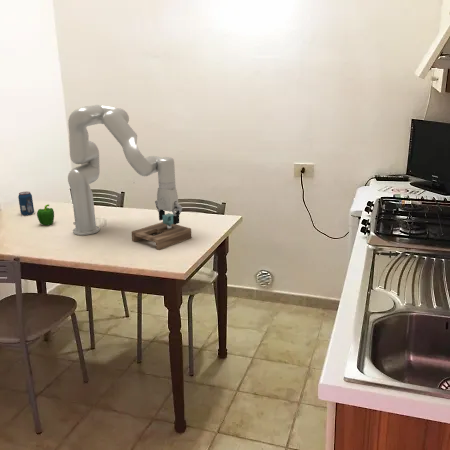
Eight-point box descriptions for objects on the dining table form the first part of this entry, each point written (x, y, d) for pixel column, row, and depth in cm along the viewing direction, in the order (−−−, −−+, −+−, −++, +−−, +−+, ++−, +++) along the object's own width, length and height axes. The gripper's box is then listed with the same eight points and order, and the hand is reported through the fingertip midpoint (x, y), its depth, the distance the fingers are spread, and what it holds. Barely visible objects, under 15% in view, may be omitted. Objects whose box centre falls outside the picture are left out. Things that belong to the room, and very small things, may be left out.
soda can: (25, 212, 279) (21, 191, 276) (36, 212, 278) (33, 191, 275) (18, 215, 273) (15, 194, 269) (30, 216, 272) (27, 194, 268)
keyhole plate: (132, 241, 229) (131, 231, 228) (165, 230, 243) (164, 221, 242) (158, 249, 218) (157, 240, 216) (191, 237, 232) (191, 228, 230)
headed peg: (162, 236, 234) (160, 215, 231) (170, 234, 237) (169, 212, 234) (169, 239, 231) (168, 217, 227) (177, 236, 234) (176, 214, 231)
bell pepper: (42, 228, 251) (39, 208, 248) (36, 224, 257) (33, 205, 254) (58, 224, 257) (56, 205, 253) (52, 221, 262) (49, 202, 259)
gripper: (148, 184, 229) (150, 220, 235) (173, 189, 218) (176, 227, 224) (160, 181, 235) (162, 216, 240) (186, 186, 224) (188, 223, 229)
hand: (169, 221), depth 232 cm, fingers open, 9 cm apart
